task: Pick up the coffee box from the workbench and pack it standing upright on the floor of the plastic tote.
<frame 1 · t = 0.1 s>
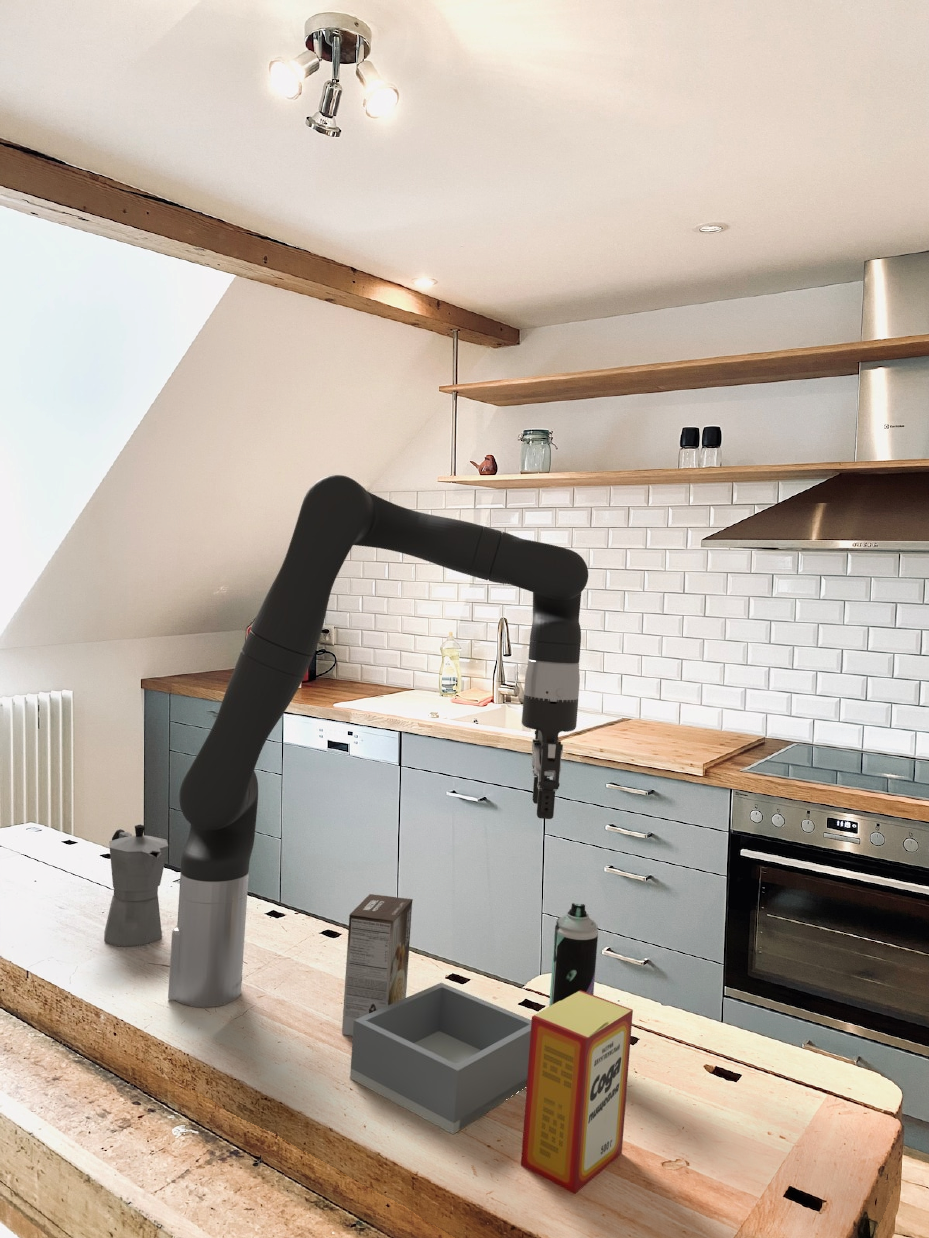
hand: (542, 810, 131), 29 cm above the workbench, tool pointing down, fingers open, 8 cm apart
coffee box: (373, 1025, 127), on the workbench
spray can: (566, 1059, 121), on the workbench
tote: (444, 1079, 114), on the workbench
baking soda box: (571, 1161, 99), on the workbench
coffeepot: (130, 935, 151), on the workbench
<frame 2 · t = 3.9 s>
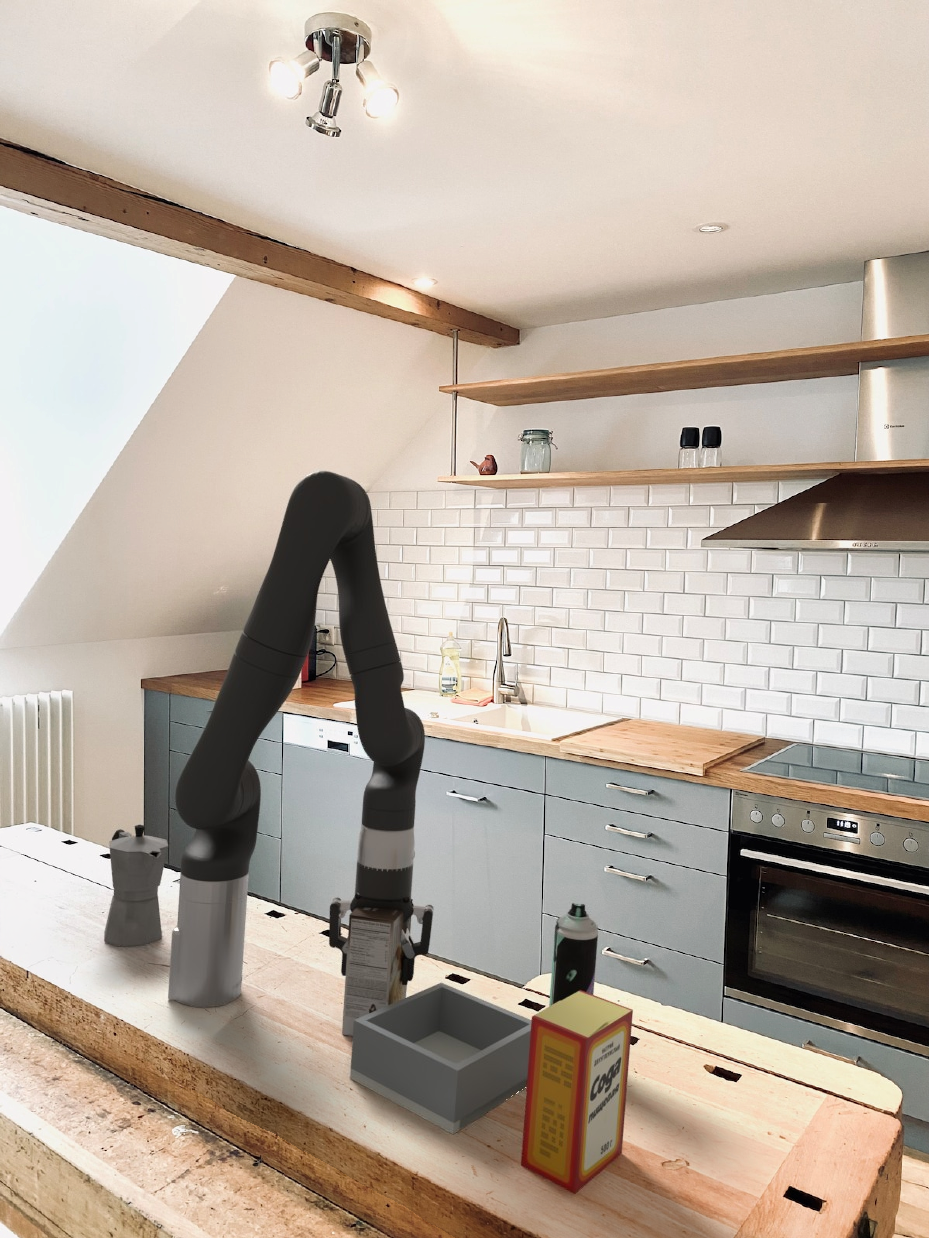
hand: (377, 980, 126), 6 cm above the workbench, tool pointing down, fingers closed on coffee box, 7 cm apart
coffee box: (374, 1025, 127), on the workbench, touching gripper
everything else where it was.
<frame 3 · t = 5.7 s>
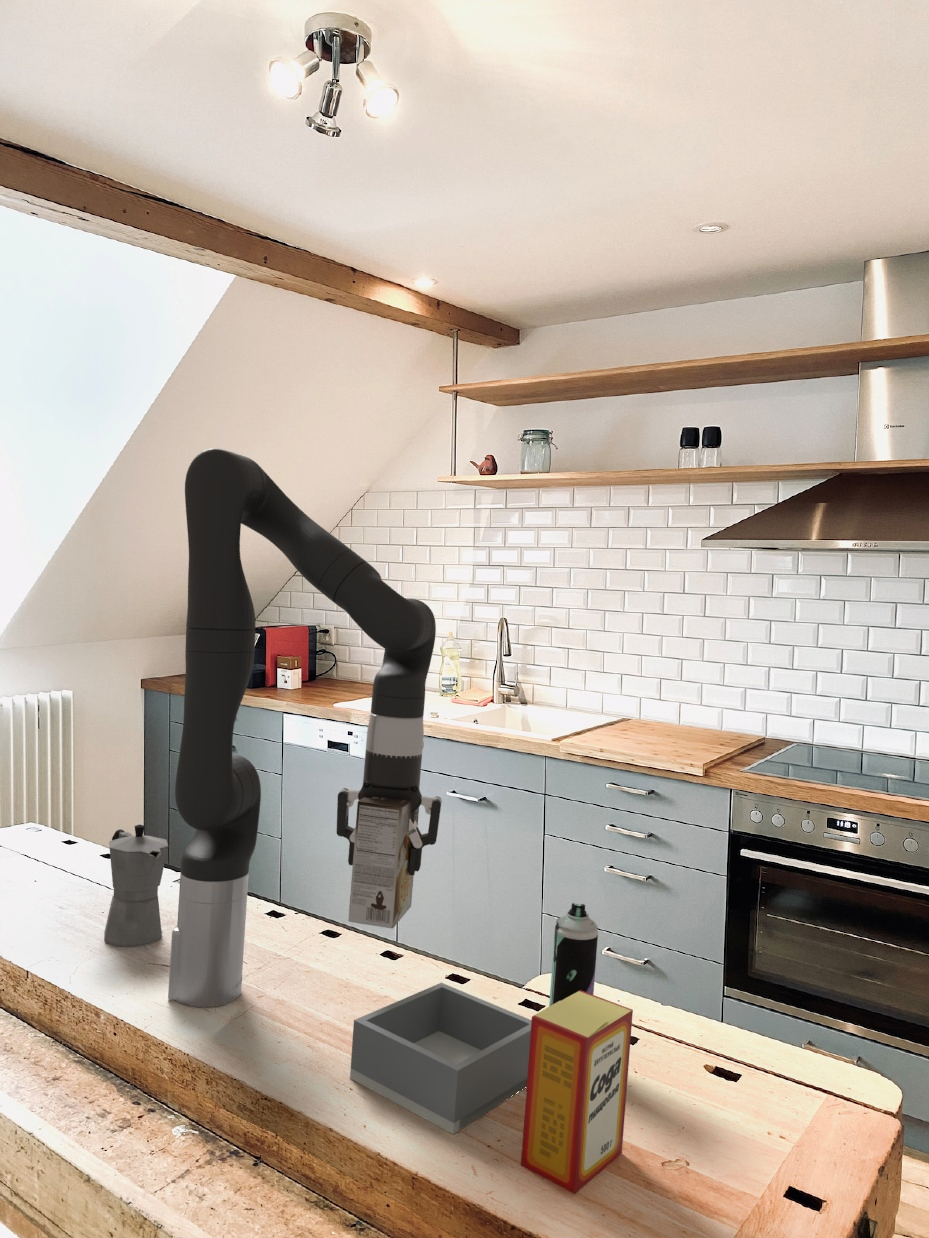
hand: (384, 870, 126), 21 cm above the workbench, tool pointing down, fingers closed on coffee box, 7 cm apart
coffee box: (380, 916, 126), point 15 cm above the workbench, touching gripper
everything else where it was.
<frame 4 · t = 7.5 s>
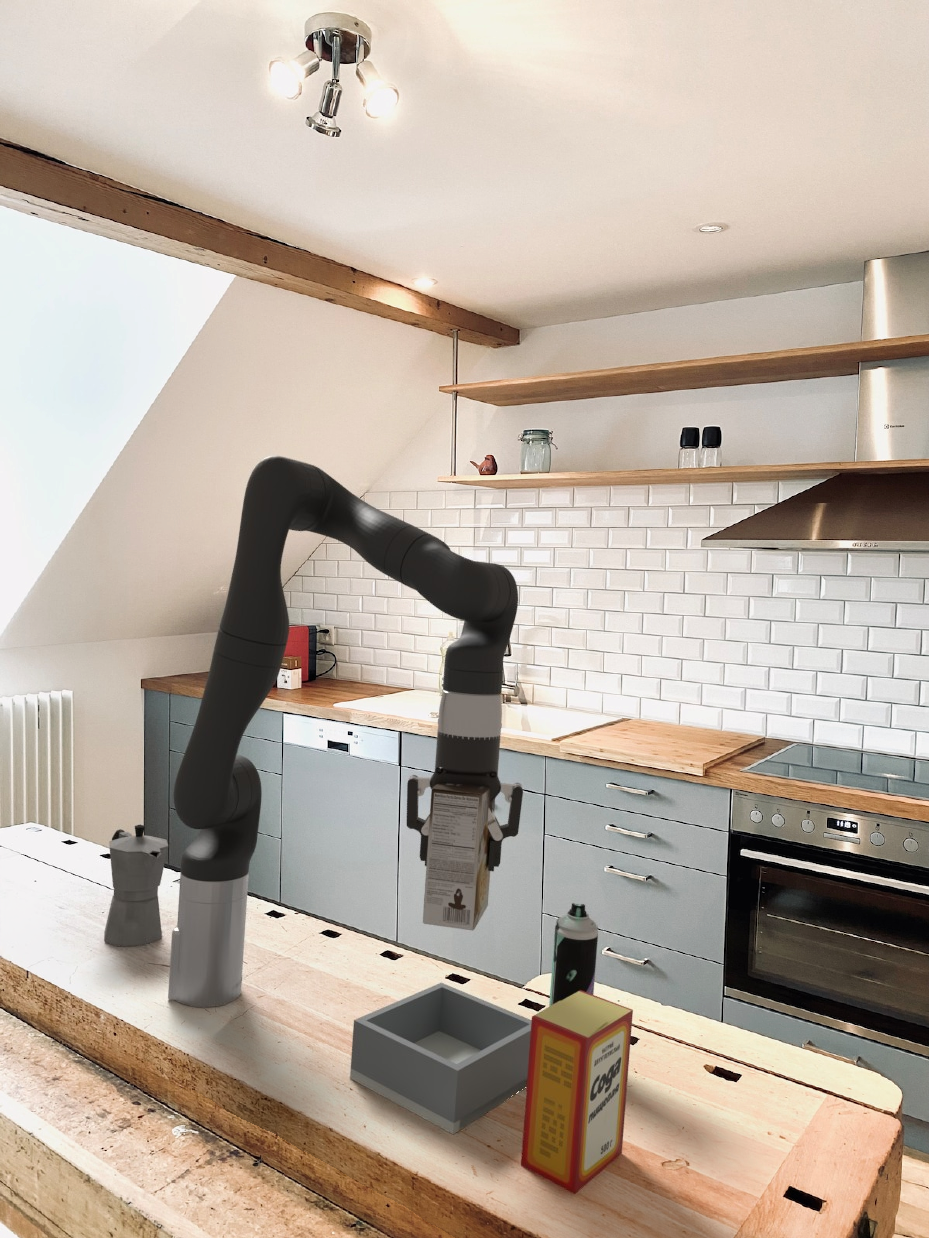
hand: (459, 866, 113), 26 cm above the workbench, tool pointing down, fingers closed on coffee box, 7 cm apart
coffee box: (455, 916, 113), point 20 cm above the workbench, touching gripper
everything else where it was.
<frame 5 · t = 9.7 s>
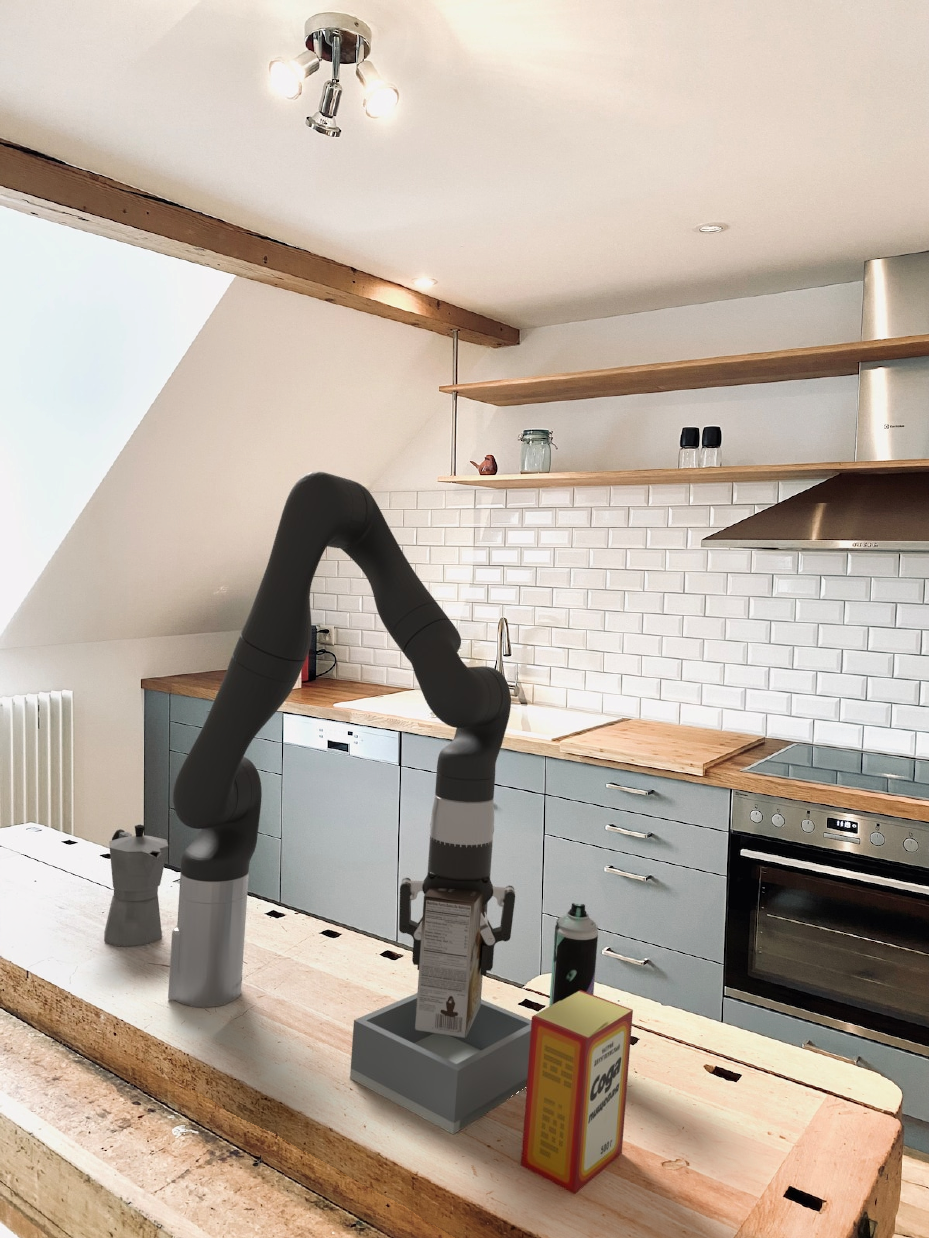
hand: (452, 969, 113), 13 cm above the workbench, tool pointing down, fingers closed on coffee box, 7 cm apart
coffee box: (448, 1019, 113), point 7 cm above the workbench, touching gripper
everything else where it was.
when the fingers open (9 cm above the workbench, at t = 11.3 s): coffee box drops 2 cm, resting on tote.
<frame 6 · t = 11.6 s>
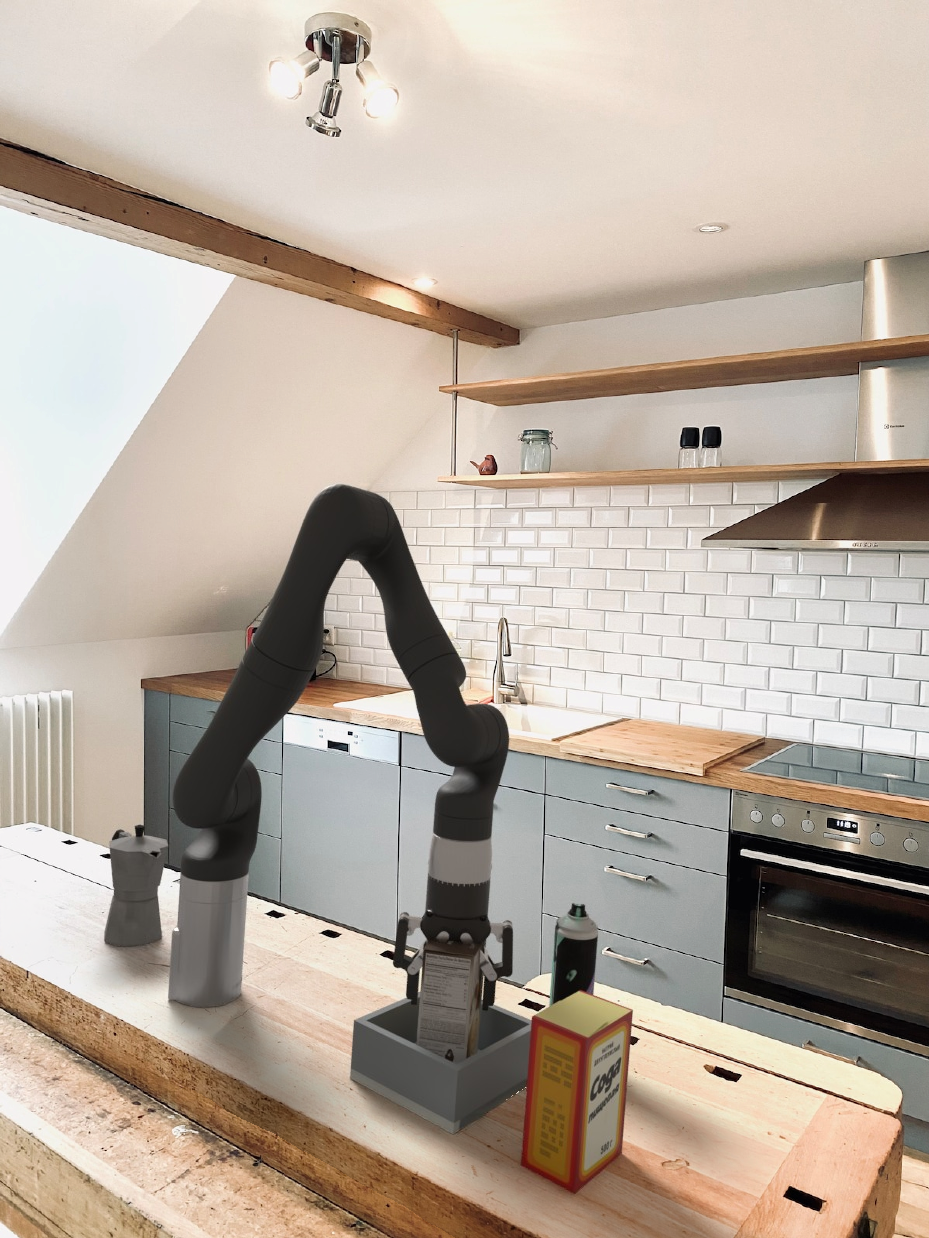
hand: (449, 1004, 113), 9 cm above the workbench, tool pointing down, fingers open, 8 cm apart
coffee box: (446, 1070, 114), point 1 cm above the workbench, touching tote
everything else where it was.
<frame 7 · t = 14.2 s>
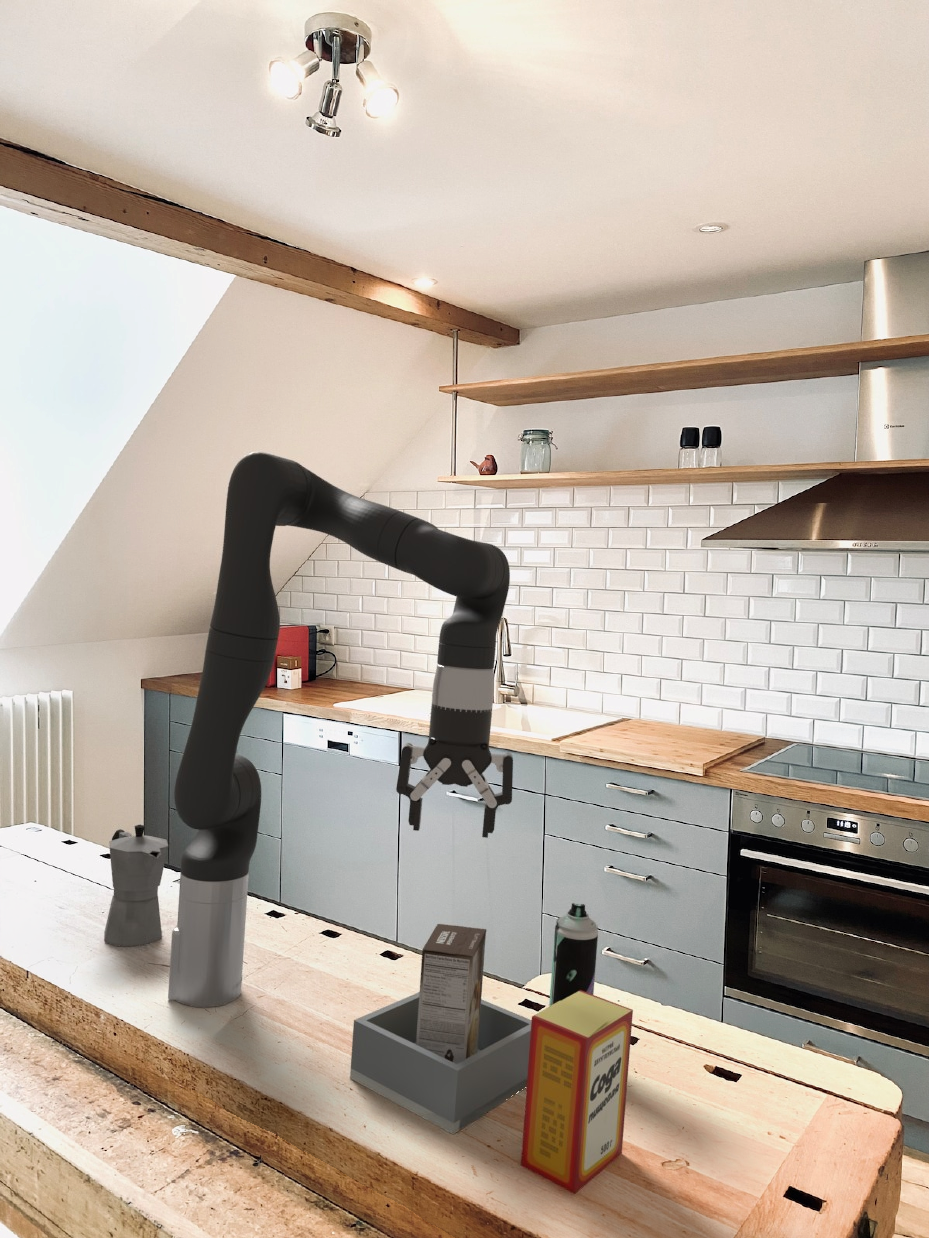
hand: (450, 832, 117), 29 cm above the workbench, tool pointing down, fingers open, 8 cm apart
nothing on the workbench moved.
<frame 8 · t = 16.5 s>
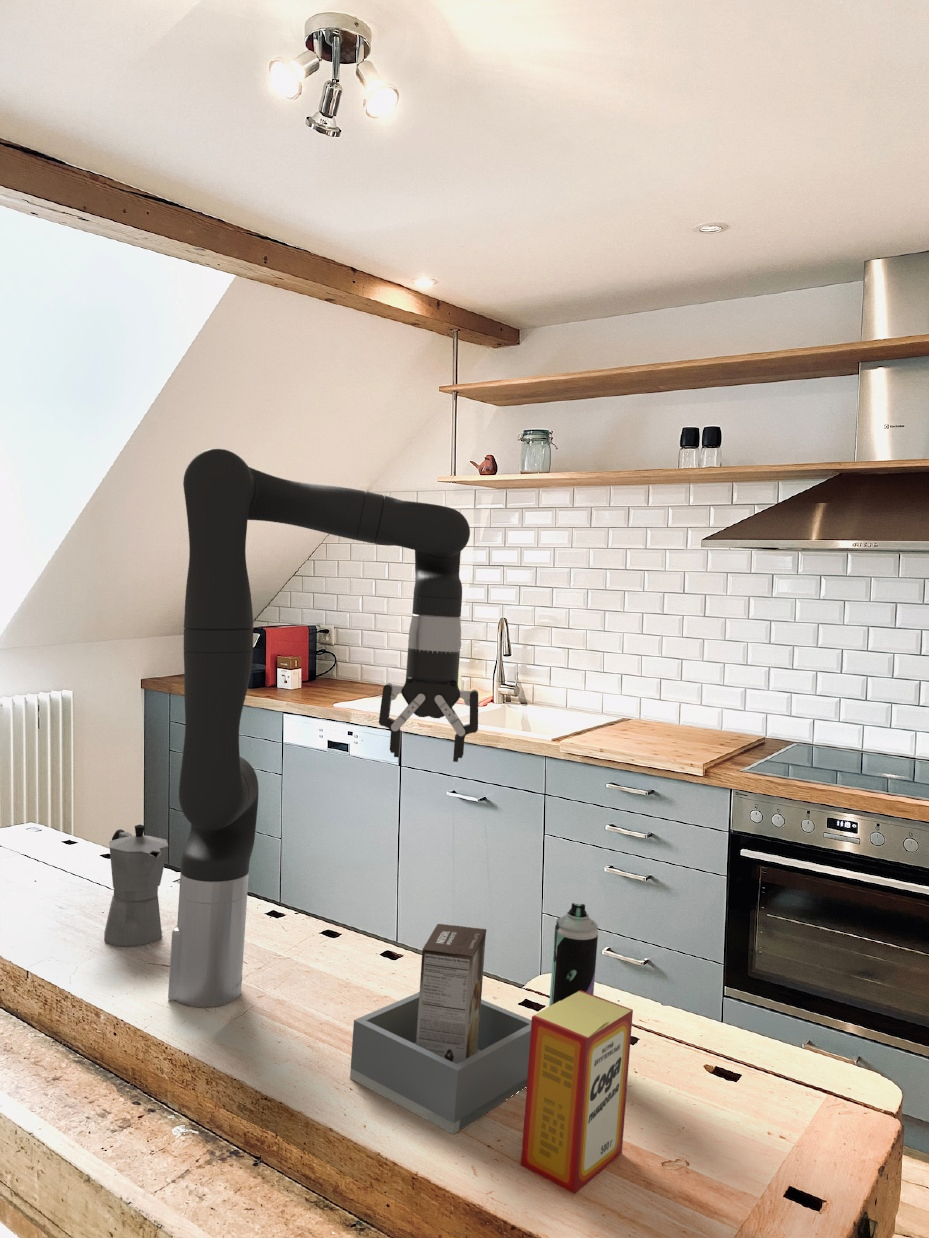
hand: (426, 758, 137), 34 cm above the workbench, tool pointing down, fingers open, 8 cm apart
nothing on the workbench moved.
at the end: coffee box inside the target area on the tote (0.1 cm from its centre), point 1.0 cm above the tote's base; coffee box tilted 0°; the gripper is holding nothing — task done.
